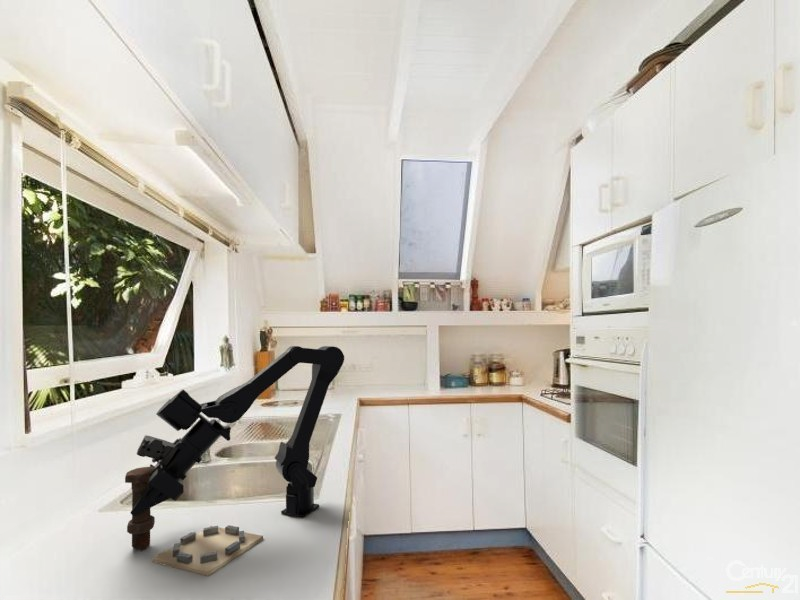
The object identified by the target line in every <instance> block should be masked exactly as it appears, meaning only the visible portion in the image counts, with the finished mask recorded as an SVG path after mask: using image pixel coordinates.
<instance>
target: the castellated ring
mask: <svg viewBox="0 0 800 600" xmlns="http://www.w3.org/2000/svg"><path fill="white" fill-rule="evenodd" d="M212 526H213V525H212ZM218 527H219V525H214V526H213V527H210V526H209V527H204V528H202V529H203V530H202V531H203V536H208V535H213V534H218ZM244 532H245V530H240V526H234V525H231V524H230V525H227V526H225V533H226V534H231V535H237V534H239V542H238V541H236V542H234V543H232V544H231V545H229V546H228V547H226V548H225V555H229V556H230V555H231V554H233V553H234V552H236V551H237V550H239V549H240V544H241V543H245V536H244ZM196 534H197V533H196V532H193V531H192V532H190V533H188V534H185V535H184V536H182V537H180V538H179V539H180V540H179V541H180V542H178V543H174V545H173V546H174V547H173V546H172V547H173V557H177V562H180V563H184V564H189V563H191V562H192V555H191V554H187V553H183V552H181V553H179V552H180V545H186V544H188V543H189V542H191V541H193V540H195V539H196ZM212 561H217V551H215V552H210V553H206V554H201V555H200V564H203V563H208V562H212Z"/></svg>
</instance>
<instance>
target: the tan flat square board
mask: <svg viewBox="0 0 800 600" xmlns="http://www.w3.org/2000/svg"><path fill="white" fill-rule="evenodd" d="M209 527H213V525H210V526H209ZM244 536H245V543H241V544H240V549H239V550H237V551H236V552H234V553H233V554H231V555H230V556H229V555H225V548H226V547H228V546H229V545H231V544H232V543H234V542H236V541H238V542H239V534H237V535H231V534H226V533H225V528H224V527H219V526H218V534H213V535H208V536H203V530H201V531H200V532H197V533H196V539H195V540H193V541H191V542H189V543H188V544H186V545H180V552H179V553H181V552H183V553H187V554H191V555H192V562H191V563H189V564H184V563H180V562H177V557H173V547H174V545H173V546H171V547H169V548H168V549H166V550H164V551H163V552H161V553H159V554H157V555H155V556H153V557H152V558H151V562H152V563H155V562H157V563H156V564H159V563H161V564H160V565H163V564H165V565H164V566H167V565H168V566H167V567H172V568H175V569H180V570H184V571H186V572H187V571H188V572H192V573H195V574H198V575H203V576H207V577H209V576H210V575H211V574H213V573H214V572H216V571H218V570H219V569H220V568H222V567H224V566H225V565H226V564H229V562H231V561H233V560H234V559H235V558H237V557H239V555H242V554H243V553H244V552H246V551H248V550H249V549H250V548H252V547H253V546H255V545H257V544H258V543H259V542H261V541H262V540H264V535H261V534H256V533H250V532H245V531H244ZM251 546H252V547H251ZM248 548H249V549H248ZM215 551H217V561H212V562H208V563H203V564H200V555H201V554H206V553H210V552H215ZM223 565H224V566H223Z"/></svg>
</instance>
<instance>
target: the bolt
mask: <svg viewBox="0 0 800 600" xmlns="http://www.w3.org/2000/svg"><path fill="white" fill-rule="evenodd" d="M156 470H157V468H155V467H150V466H143V467H142V466H141V467H138V468H137V467H136V468H134V469H131V470H129V471H127V472H126V473H125V476H124V479H125V480H124V483H125V484H130V485H131V494H132V496H131V497H132V498H131V510H132V509H133V508H134V506H135V505H136V503H137V502H138V501H139V499H140V498H141V496H142V495H143V494H144V492H145V491H146V489H147V488H148V477H149V476H152V474H153V473H154V472H155V471H156ZM155 518H156V517H155V516H154V515H151V508H149V509H147V510H146V511H144V512H142V513H140V514H138V515H136V516H133V515H132V514H131V519H130V520H129V521H128V522H127V526H126V532H127V533H128V534H130V535H131V547H132V549H134V550H136V551H138V552H139V551H142V550H143V549H145V550H146V549H148V548H149V547H150V545H151V530H152V529H154V527H155V523H156V520H155Z"/></svg>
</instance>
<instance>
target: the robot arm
mask: <svg viewBox="0 0 800 600" xmlns="http://www.w3.org/2000/svg"><path fill="white" fill-rule="evenodd" d="M344 362H345V354H344V352H343V351H342V350H341V348H339V347H337V346H332V345H331V346H330V345H329V346H328V345H323V346H321V347H319V348H309V347H308V348H307V347H302V346H298V345H290V346H288V348H287V349H286V350H285V351H284V352H283V353H282V354H281V355H280V354H279V356H278V357H277V358H276V359H275V358H274V360H273V361H271V362H270V363H269V364H268V365H266V366H265V367H264V368H263V369H261V370H260V371H259V372H257V373H256V374H254V376H252V378H250V379H249V380H248V381H246V382H244V383H241V385H238V386H236V387H234V388H232V389H230V390H228V391H226V392H225V393H223V394H221V395H219V396H218V397H217V399H215V400H213V401H208V402H207V401H206V402H205V401H204V402H203V403H199V402H198V401H197V400H195V399H194V398H193V397H192V396H190V394H189V393H188V392H187V391H186V390H185V389H184V388H183V389H181V390H179V392H178V393H176V394H175V395H174V396H172V398H170V399H168V400H167V401H166V402H165V403H164V404H163V405H162V406H161V407H160V408H159V410H158V411H157V412H156V414H155V415H156V416H157V417H159V418H160V419H161V420H163V421H164V422H165V423H167V424H168V425H169V426H171V428H173V429H174V430H175V431H177V432H179V431H180V430H183V431H187V430H188V429H189V428H190V429H189V430H188V431H187V432H186V433H185V434H184V435H183V436H182V437H179V438H176V439H175V440H174V441H173V442H170V441H168V440H166V439H165V440H164V439H162V438H158V437H154V436H150V435H147V434H146V435H144V437H143V438H142V441H141V443H140V445H139V446H138V449H137V451H136V455H138V456H139V457H142V458H143V457H146V458H151V462H152V463H153V464H154V463H155V465H153V464H149V467H155V468H157V470H156V471H155V472H154V473H153V474H152V476H149V477H148V488H147V489H146V491H145V492H144V494H143V495H142V496H141V498H140V499H139V501H138V502H137V503H136V505H135V506H134V508H133V509H132V508H131V510H130V515H131V516H132V515H133V516H136V515H138V514H140V513H142V512H144V511H146V510H147V509H149V508H150V509H151V508H153V507H155V506H156V505H159V504H161V503H164V502H165V501H168V500H169V499H171V500H173V501H177V500H178V499H179V498H180V497H181V496H182V495H183V494H184V491H185V490H184V480H185V479H186V478H187V475H188V472H189V471H190V470H191V469H192V468H193V467H194V466H195V465H196V464H200V463H201V461H203V456H204V455H205V453H207V451H209V450H210V448H211V447H212V446H213V445H214V444H215V443H216V442H217V441H218V440H219V438H221V437H222V438H223V439H225V441H228V442H229V441H231V429H232V428H231V426H230V425H227V426H224V425H223V424H222V423H225V424H234V423H236V422H238V421H240V419H241V418H243V416H244V415H245V414H246V413H247V412H248V410H249V409H250V408H251V407H252V405H253V404H254V403H255V401H256V400H257V399H258V398H259V396H260V395H261V394H263V393H264V392H265V391H266V390H267V389H269V388H271V386H273V384H275V383H276V382H277V381H279V380H280V379H281V378H282V377H283V376H285V375H286V374H287V373H288V372H289V371H290V370H292V369H293V368H294V367H295V366H297V365H299V364H309V365H310V364H311V379H310V383H309V386H308V389H307V391H306V395H305V397H304V400H303V402H302V403H303V404H302V406H301V409H300V412H299V414H298V418H297V420H296V423H295V426H294V429H293V432H292V435H291V436H290V438H289V439H288V440H287V441H286V442H283V441H281V442H280V443H279V445H278V446H279V448H278V451H277V454H276V455H275V456H274V459H275V460H276V462H275V468H276V469H277V472H278V473H279V474H280V475H281V477H282V478H283V479H284V480H285V481H286V482H288V483H287V486H286V487H285V490H286V491H285V493H286V494H285V508H284V509H282V510H281V511H280V512H281V513H280V514H281V515H287V516H291V517H292V516H294V517H299V518H305V517H307V516H308V515H309V514H311V513H312V512H314V511H315V510H317V509H319V508H320V504H319V503H315V502H314V501H315V499H314V494H315V493H314V488H315V487H316V485H317V481H318V477H317V476H316V475H315V474H314V473H313V471H311V470H310V469H309V468H308V467H309V462H310V461H309V460H310V442H311V439H312V436H313V433H314V431H315V428H316V426H317V425H316V424H317V421H318V419H319V416H320V413H321V410H322V406H323V404H324V402H325V399H326V396H327V392H328V390H329V386H330V385H331V383H332V382H333V381H334V379H335V378H336V377H337V375H338V374H339V373H340V370H341V368H342V366H343V364H344ZM201 413H202V414H203V415H202V414H201ZM204 416H206V417H207V418H206V417H204ZM208 418H209V419H211V420H208ZM217 419H218V420H219V421H221V422H222V423H220V422H219V421H218V420H217ZM197 420H198V421H197Z"/></svg>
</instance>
